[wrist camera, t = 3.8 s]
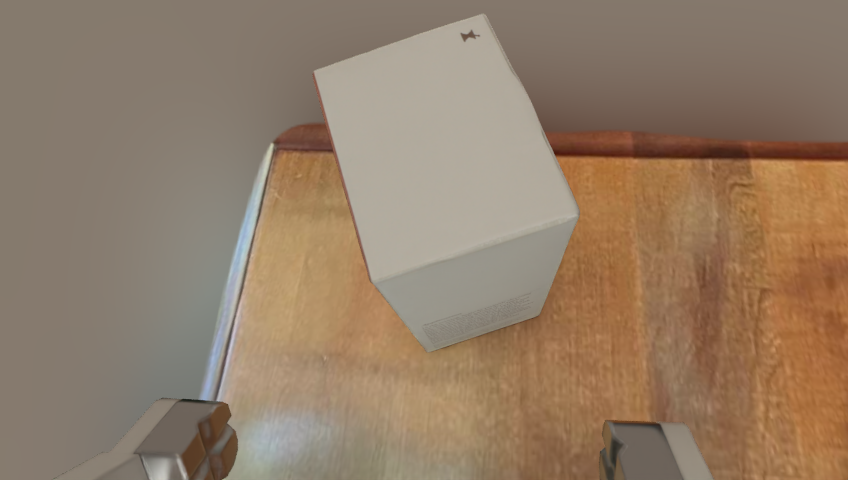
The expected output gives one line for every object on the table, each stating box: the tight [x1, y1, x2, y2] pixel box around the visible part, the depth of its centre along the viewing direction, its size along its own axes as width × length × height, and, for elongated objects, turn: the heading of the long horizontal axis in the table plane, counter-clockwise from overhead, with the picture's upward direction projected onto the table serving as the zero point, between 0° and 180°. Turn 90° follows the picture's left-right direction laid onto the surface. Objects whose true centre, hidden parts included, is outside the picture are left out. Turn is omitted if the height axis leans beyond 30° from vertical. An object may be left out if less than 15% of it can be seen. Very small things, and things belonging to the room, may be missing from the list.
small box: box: [313, 14, 580, 352], centre depth 21 cm, size 8×6×13 cm
